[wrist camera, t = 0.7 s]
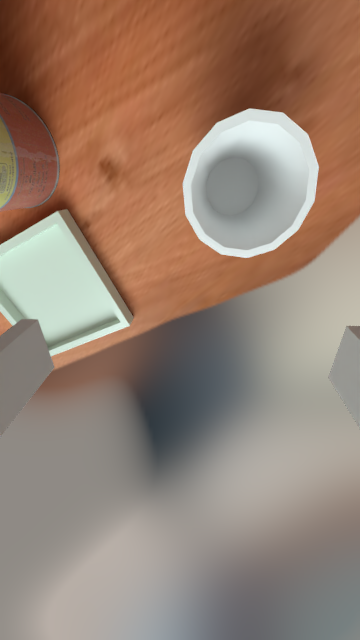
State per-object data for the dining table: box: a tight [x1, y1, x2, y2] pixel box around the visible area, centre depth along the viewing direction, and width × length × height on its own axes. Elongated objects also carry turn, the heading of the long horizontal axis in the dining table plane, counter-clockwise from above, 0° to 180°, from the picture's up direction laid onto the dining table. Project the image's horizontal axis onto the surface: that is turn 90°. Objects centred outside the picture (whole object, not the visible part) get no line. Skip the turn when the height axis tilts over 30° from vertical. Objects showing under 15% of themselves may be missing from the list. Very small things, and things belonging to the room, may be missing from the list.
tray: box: [0, 209, 134, 356], centre depth 37 cm, size 17×17×2 cm
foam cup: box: [183, 108, 319, 258], centre depth 24 cm, size 10×9×13 cm
